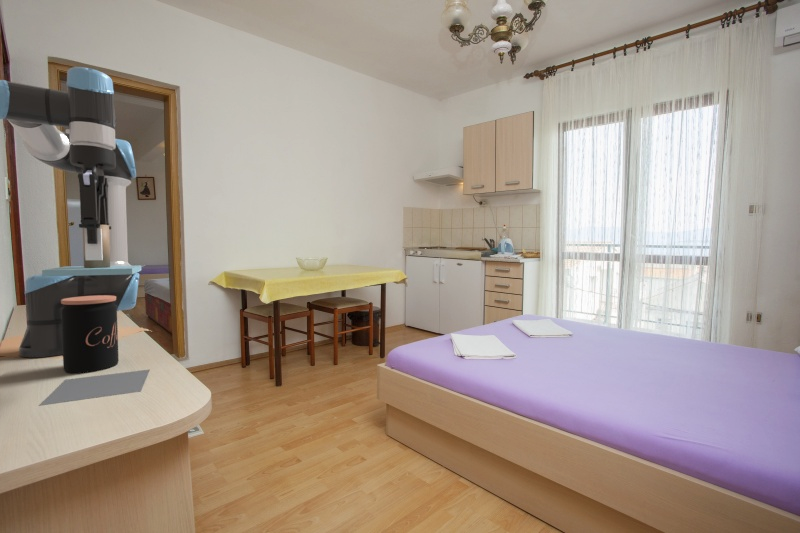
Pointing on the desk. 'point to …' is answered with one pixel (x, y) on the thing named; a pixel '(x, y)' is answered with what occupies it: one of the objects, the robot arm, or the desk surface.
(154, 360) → the desk surface
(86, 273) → the lid
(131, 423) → the desk surface
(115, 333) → the coffee jar
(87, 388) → the mat
